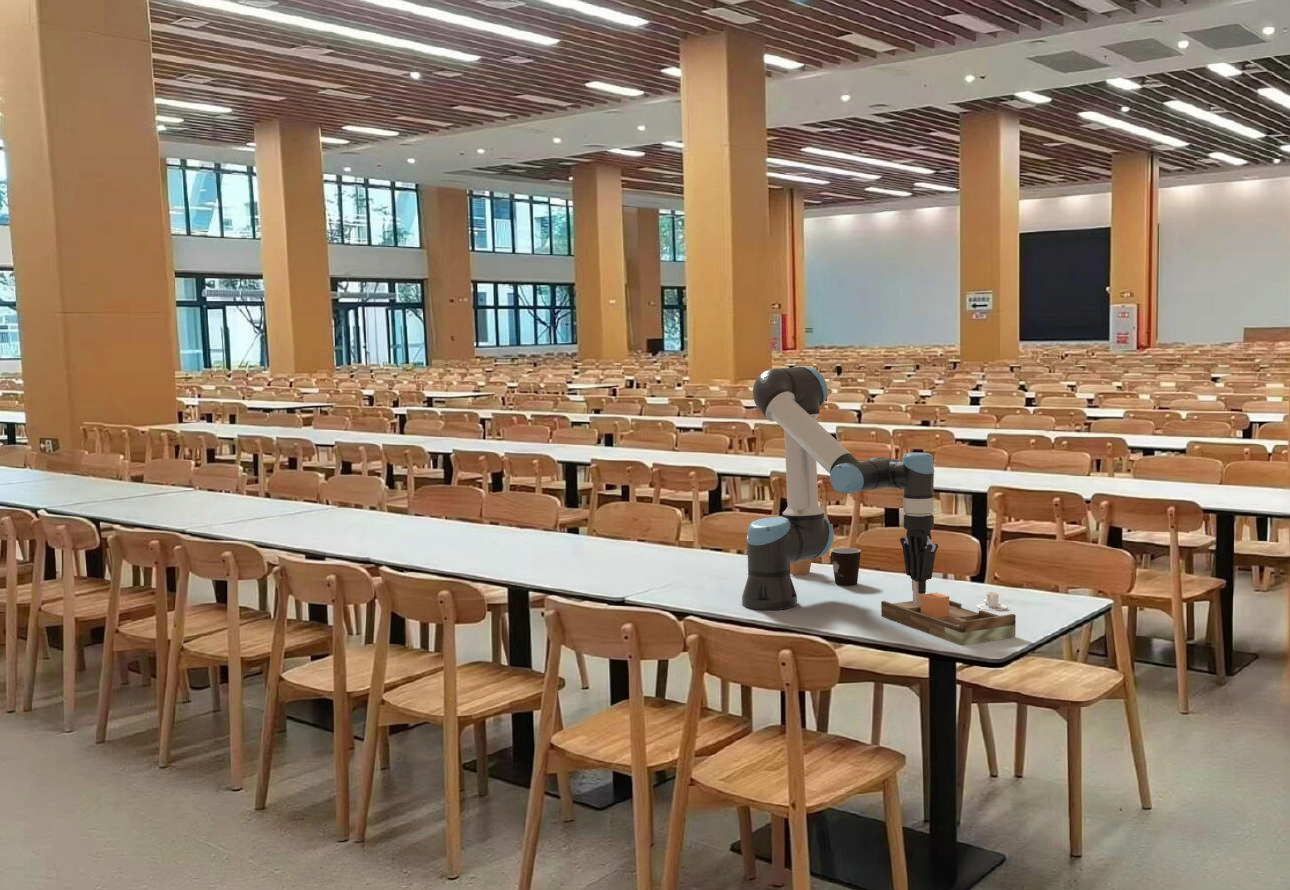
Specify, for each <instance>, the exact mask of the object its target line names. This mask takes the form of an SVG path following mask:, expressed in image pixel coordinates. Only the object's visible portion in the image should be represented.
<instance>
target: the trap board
mask: <svg viewBox="0 0 1290 890" xmlns="http://www.w3.org/2000/svg"><path fill="white" fill-rule="evenodd" d="M880 604H881V605H880V606H881V609H880V611H881V617H882V618H885V619H888V620H890V621H894V622H897V623H899V624H902V625H905V626H907V627H911V628H913V629H915V630H918V631H921V632H923V633H927V634H928V635H929V634H930V635H933V636H934V637H937V638H941V639H943V640H946V641H949V642H952V643H953V644H954V643H955V644H957V645H961V646H965V645H966V646H967V645H972V644H973V645H974V644H979V643H986V642H992V641H993V642H994V641H998V640H1004V639H1005V640H1006V639H1011V638H1016V630H1017V629H1016V617H1017V616H1016V614H1015V613H1010V614H1004V615H1002V614H1001V615H998V614H995V613H992V612H988V611H986V610H983V609H981V610H978V612H976V611H973V610H969V609H967V608H963V607H962V604H963V603H960V602H957V601H953V600H951V599H949V616H946V617H939V618H933V617H931V616H928V615H925V614H922V613H921V606H914V605H913V600H909V601H902V602H894V603H892V602H889V601H885V600H881V602H880Z"/></svg>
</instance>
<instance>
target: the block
mask: <svg viewBox="0 0 1290 890" xmlns="http://www.w3.org/2000/svg"><path fill="white" fill-rule="evenodd" d="M949 600H950V595H947V594H943V593H939V592H932V593H925V594H923V595H921V613H922V614H925V615H928V616H931V617H933V618H939V617H946V616H949Z"/></svg>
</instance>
